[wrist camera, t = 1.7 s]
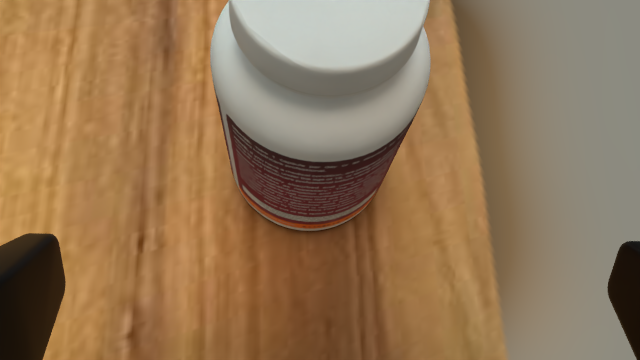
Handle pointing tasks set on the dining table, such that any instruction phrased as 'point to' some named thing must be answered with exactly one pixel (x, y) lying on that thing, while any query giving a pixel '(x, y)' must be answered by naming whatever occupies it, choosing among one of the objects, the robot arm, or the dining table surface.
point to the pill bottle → (317, 100)
